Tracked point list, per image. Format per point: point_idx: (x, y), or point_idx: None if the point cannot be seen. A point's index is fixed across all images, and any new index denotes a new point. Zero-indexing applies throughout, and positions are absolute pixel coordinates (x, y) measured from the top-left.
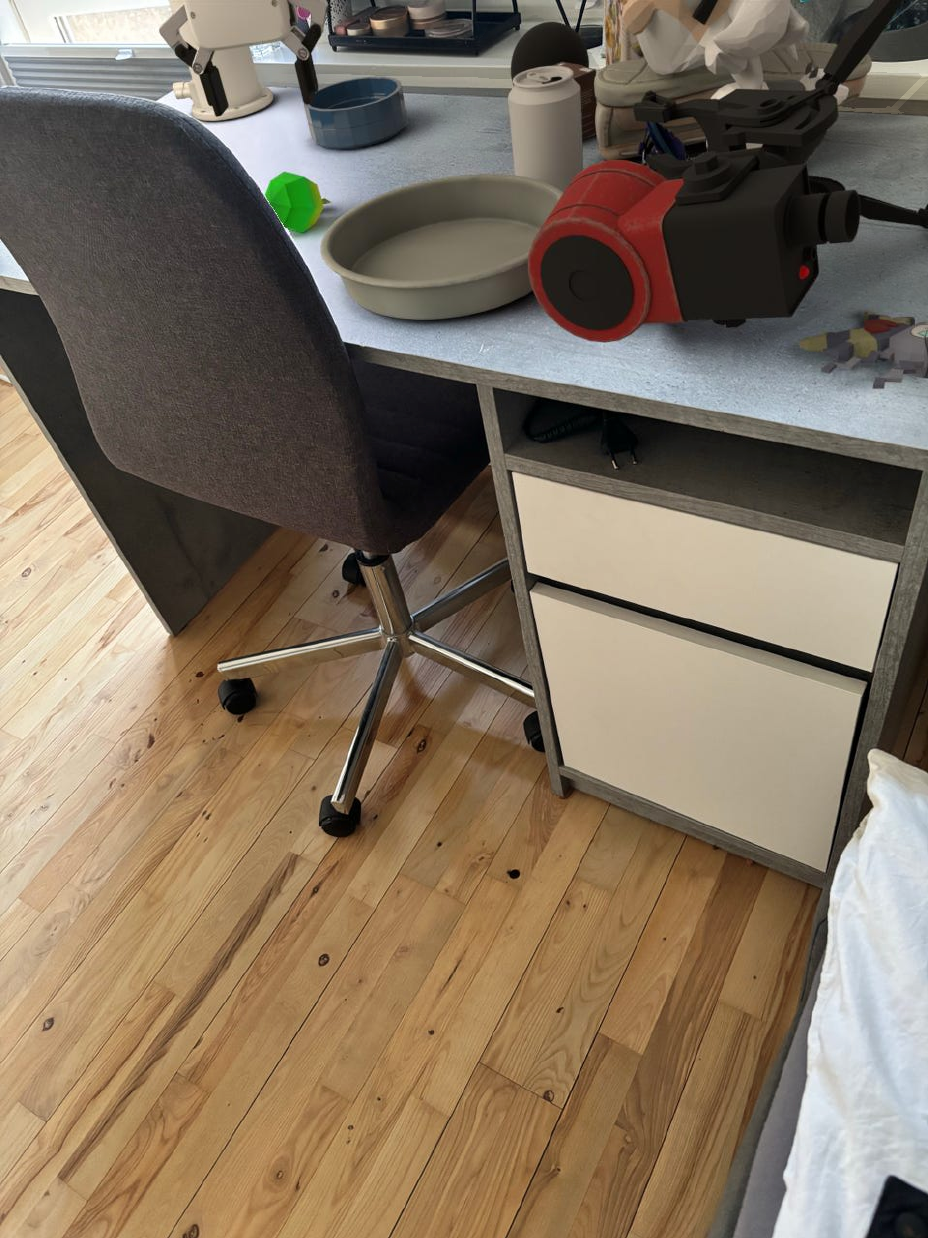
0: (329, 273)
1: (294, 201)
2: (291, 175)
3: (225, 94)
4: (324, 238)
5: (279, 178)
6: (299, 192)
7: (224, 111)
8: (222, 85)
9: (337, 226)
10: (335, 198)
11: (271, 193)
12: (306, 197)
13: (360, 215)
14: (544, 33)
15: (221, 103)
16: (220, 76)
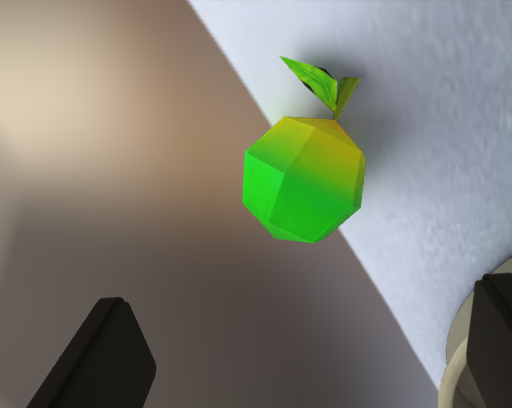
0: (405, 314)
1: (329, 233)
2: (314, 198)
3: (109, 333)
4: (444, 404)
5: (288, 214)
6: (339, 222)
7: (146, 344)
8: (94, 367)
9: (461, 372)
10: (347, 2)
11: (277, 234)
12: (350, 213)
13: None
14: None
15: (139, 375)
16: (71, 393)
